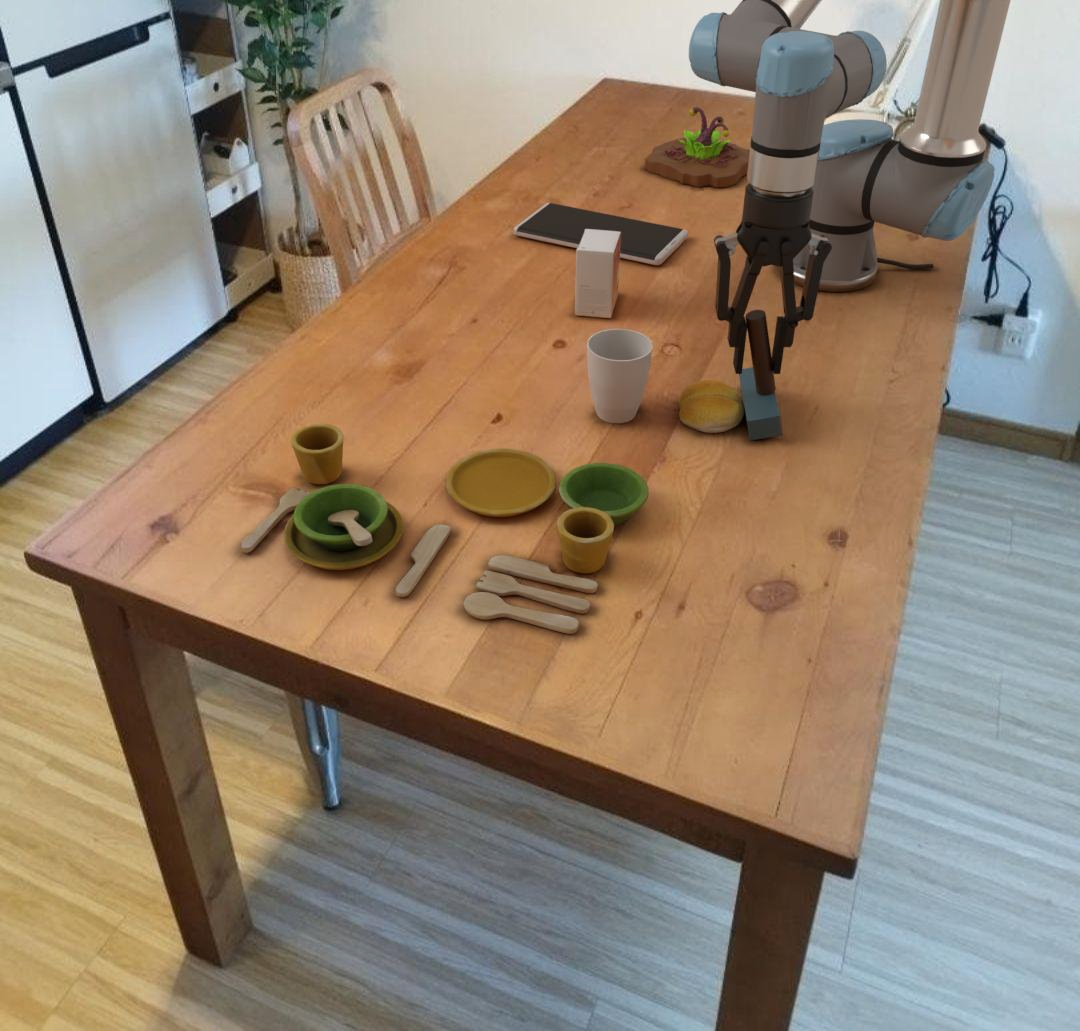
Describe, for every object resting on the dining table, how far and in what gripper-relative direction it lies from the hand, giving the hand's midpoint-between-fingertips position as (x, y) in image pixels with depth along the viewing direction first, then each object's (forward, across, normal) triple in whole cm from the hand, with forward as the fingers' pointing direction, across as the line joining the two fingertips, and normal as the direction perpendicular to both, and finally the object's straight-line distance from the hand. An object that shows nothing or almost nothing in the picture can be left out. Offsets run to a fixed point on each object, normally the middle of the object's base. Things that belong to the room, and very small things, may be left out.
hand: (756, 368), depth 134 cm
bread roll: (+7, +5, 0) cm, 9 cm away
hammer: (+6, -2, 0) cm, 7 cm away
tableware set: (+7, +37, +23) cm, 44 cm away
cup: (+7, +17, 0) cm, 19 cm away
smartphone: (+7, +18, -55) cm, 59 cm away
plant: (+7, -2, -89) cm, 89 cm away
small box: (+7, +19, -30) cm, 36 cm away
